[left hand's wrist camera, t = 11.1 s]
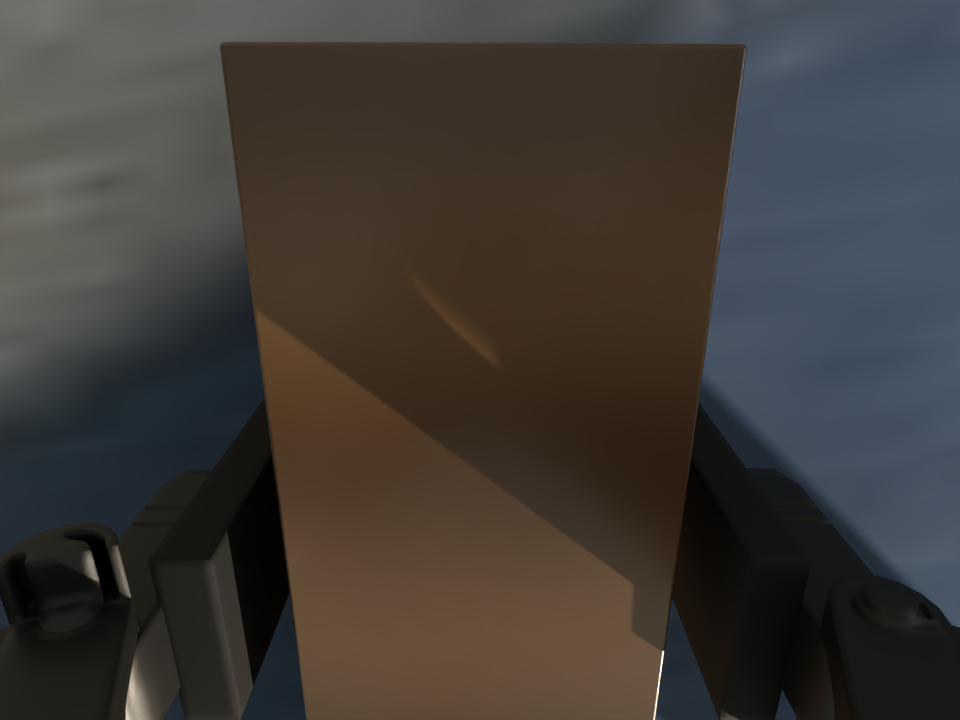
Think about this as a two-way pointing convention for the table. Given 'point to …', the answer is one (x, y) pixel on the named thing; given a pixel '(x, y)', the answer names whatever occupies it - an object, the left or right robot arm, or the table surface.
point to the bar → (481, 358)
